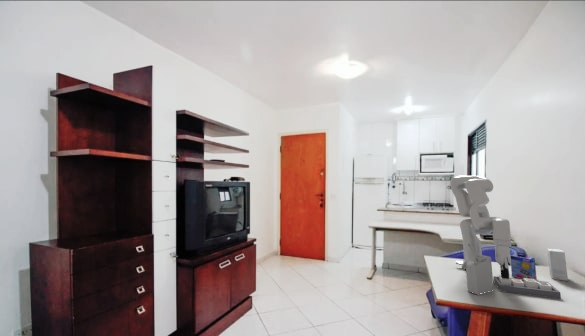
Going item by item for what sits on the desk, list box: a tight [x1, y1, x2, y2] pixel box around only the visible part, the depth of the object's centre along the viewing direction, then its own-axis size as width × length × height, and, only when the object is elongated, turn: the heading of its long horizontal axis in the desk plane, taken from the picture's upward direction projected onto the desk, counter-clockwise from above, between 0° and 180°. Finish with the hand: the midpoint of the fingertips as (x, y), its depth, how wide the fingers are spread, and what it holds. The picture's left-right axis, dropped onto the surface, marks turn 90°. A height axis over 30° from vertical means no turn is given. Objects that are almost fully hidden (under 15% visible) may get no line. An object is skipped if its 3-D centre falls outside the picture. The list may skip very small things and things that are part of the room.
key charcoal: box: [538, 281, 553, 290], centre depth 131 cm, size 4×5×3 cm
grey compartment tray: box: [492, 275, 562, 300], centre depth 134 cm, size 23×14×3 cm, turn 63°
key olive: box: [523, 278, 538, 288], centre depth 133 cm, size 4×5×3 cm
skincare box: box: [546, 248, 569, 282], centre depth 149 cm, size 8×7×16 cm
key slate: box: [498, 275, 512, 286], centre depth 138 cm, size 4×5×3 cm
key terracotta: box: [511, 278, 525, 287], centre depth 136 cm, size 4×5×3 cm
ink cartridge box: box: [510, 251, 538, 281], centre depth 150 cm, size 10×6×14 cm, turn 29°
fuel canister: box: [465, 244, 494, 295], centre depth 134 cm, size 15×5×25 cm, turn 113°
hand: (505, 277), depth 138 cm, fingers closed
